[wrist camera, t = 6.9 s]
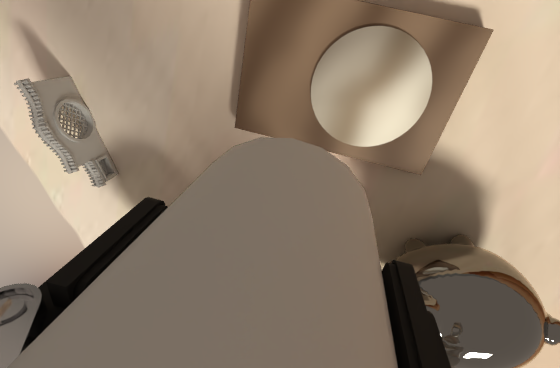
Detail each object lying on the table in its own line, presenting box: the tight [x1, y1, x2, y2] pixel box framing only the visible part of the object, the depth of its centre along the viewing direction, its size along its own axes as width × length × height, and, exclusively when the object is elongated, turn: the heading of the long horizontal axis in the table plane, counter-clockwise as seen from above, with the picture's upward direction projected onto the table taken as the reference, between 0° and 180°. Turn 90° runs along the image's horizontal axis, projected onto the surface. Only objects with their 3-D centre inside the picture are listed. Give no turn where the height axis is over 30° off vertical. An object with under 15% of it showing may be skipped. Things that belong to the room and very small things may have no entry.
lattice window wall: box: [14, 76, 118, 187], centre depth 30 cm, size 12×2×6 cm, turn 12°
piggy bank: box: [396, 235, 560, 368], centre depth 27 cm, size 11×15×12 cm
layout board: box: [235, 0, 493, 175], centre depth 25 cm, size 18×12×2 cm, turn 79°
